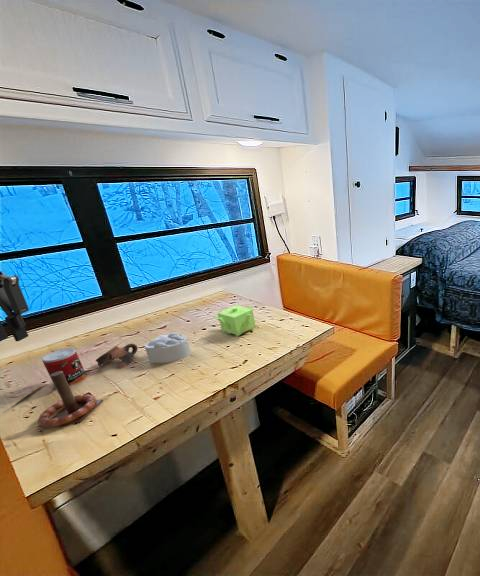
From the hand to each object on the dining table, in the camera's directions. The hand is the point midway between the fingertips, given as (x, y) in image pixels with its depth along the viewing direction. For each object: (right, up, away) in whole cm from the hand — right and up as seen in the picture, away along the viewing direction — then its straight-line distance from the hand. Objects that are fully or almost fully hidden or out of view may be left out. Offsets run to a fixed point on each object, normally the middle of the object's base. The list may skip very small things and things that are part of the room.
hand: (12, 339), depth 80 cm
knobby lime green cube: (+34, -6, +54) cm, 64 cm away
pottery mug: (+1, -15, +32) cm, 35 cm away
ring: (+8, -21, +6) cm, 24 cm away
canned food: (-7, -18, +22) cm, 30 cm away
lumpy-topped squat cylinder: (+18, -13, +35) cm, 42 cm away
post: (+9, -23, +8) cm, 26 cm away
